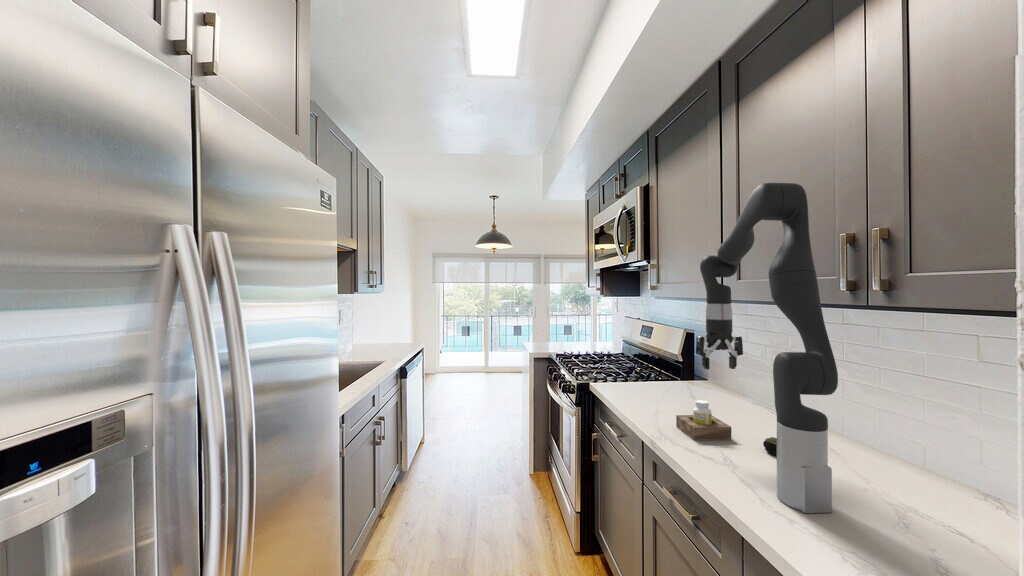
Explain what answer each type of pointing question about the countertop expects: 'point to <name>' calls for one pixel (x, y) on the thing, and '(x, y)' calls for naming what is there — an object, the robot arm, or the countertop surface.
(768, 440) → the tape measure
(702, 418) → the supplement bottle
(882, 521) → the countertop surface
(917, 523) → the countertop surface
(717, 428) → the socket block
